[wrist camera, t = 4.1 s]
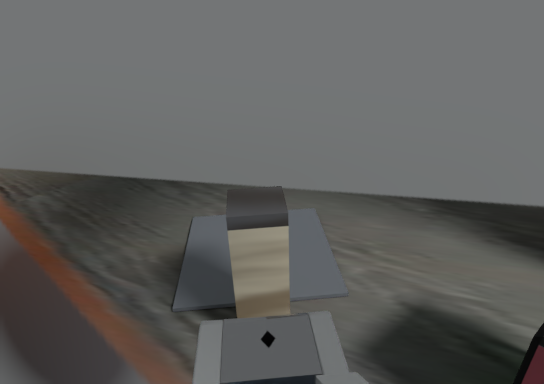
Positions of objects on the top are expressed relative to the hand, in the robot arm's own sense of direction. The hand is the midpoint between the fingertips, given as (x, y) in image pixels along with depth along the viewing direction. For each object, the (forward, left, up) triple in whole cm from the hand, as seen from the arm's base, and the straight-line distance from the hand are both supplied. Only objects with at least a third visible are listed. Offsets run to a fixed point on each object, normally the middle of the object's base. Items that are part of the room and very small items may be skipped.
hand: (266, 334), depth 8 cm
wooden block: (-4, -15, -16) cm, 22 cm away
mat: (-7, -25, -16) cm, 31 cm away
